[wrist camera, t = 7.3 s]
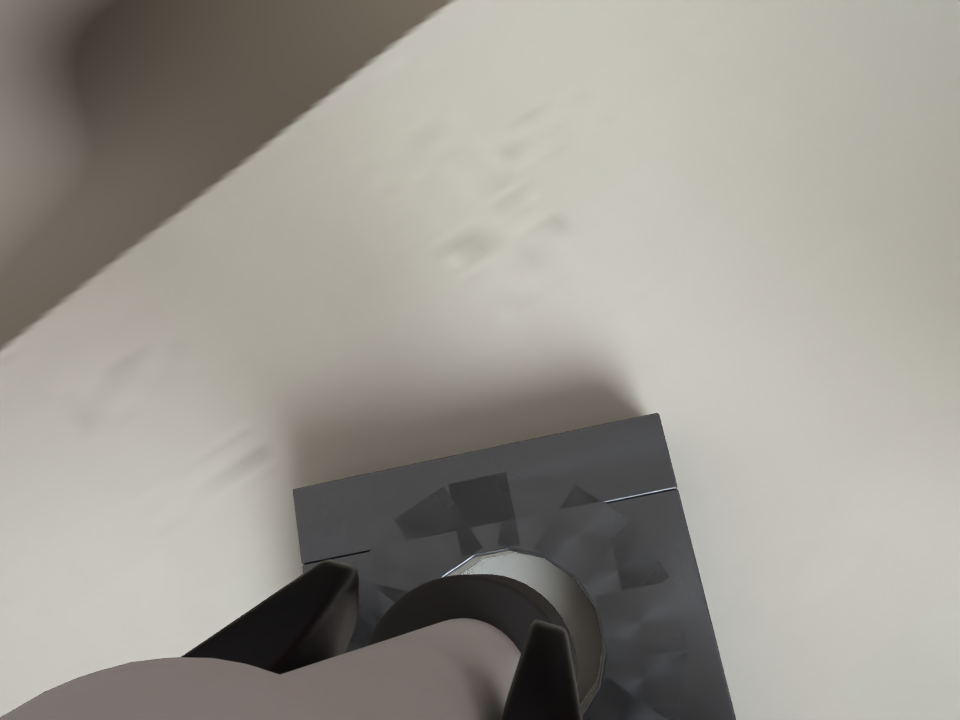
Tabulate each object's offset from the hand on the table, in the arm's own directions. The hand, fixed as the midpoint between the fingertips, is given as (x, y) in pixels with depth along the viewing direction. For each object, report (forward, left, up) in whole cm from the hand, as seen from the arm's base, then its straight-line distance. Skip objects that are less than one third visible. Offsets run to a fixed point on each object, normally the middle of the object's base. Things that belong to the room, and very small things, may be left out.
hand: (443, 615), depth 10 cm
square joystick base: (-1, +1, -13) cm, 14 cm away
